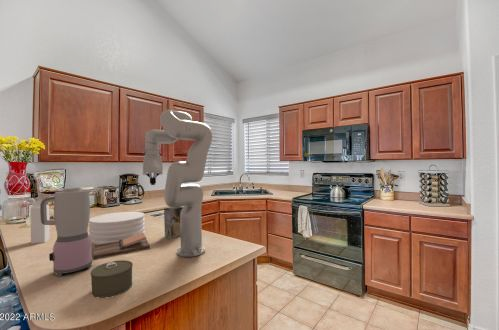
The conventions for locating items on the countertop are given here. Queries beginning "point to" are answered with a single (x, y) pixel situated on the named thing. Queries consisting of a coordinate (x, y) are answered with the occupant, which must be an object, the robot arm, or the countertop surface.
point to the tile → (133, 239)
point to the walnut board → (118, 248)
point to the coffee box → (172, 221)
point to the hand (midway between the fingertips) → (152, 184)
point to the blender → (70, 230)
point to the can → (111, 278)
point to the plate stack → (115, 226)
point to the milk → (38, 224)
